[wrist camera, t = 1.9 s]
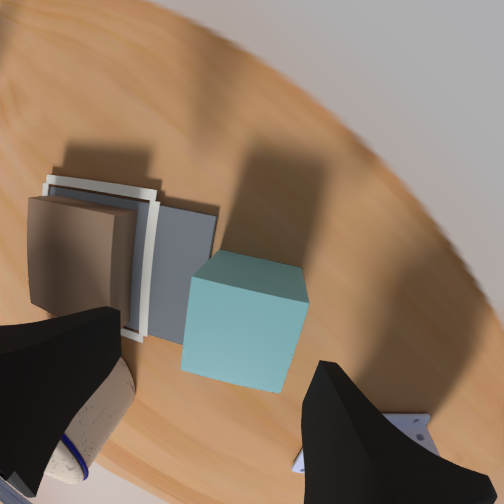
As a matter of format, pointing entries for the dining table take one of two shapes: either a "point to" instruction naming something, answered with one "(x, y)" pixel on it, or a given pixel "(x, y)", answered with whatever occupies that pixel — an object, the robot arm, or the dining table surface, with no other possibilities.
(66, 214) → the walnut base
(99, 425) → the teacup with lid
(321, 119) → the dining table surface
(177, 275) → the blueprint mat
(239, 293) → the teal cube
